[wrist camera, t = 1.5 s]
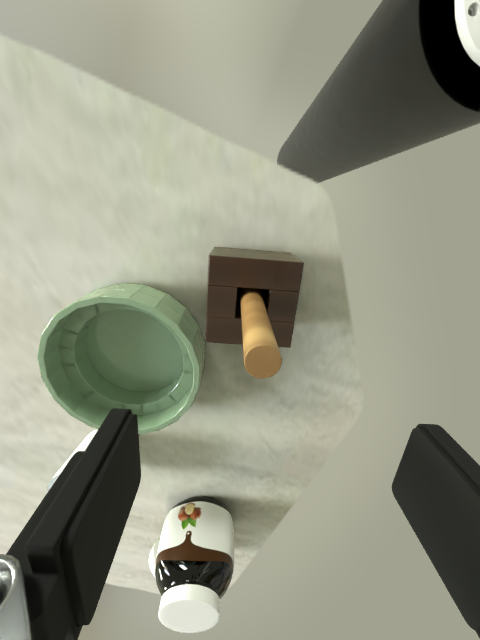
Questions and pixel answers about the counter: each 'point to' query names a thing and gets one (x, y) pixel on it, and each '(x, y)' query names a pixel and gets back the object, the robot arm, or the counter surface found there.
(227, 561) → the spread jar
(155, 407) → the bowl
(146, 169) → the counter surface
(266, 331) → the stirring stick
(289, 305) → the stick holder
